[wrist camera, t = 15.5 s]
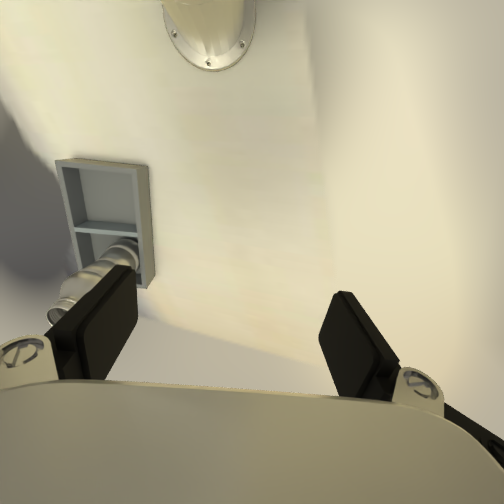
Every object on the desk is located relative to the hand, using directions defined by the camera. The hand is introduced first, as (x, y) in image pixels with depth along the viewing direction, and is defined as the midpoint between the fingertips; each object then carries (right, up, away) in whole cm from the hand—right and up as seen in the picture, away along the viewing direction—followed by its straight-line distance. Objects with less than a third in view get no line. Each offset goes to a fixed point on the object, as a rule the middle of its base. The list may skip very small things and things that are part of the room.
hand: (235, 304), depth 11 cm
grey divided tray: (-24, +8, +34) cm, 43 cm away
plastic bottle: (-23, +3, +36) cm, 43 cm away
